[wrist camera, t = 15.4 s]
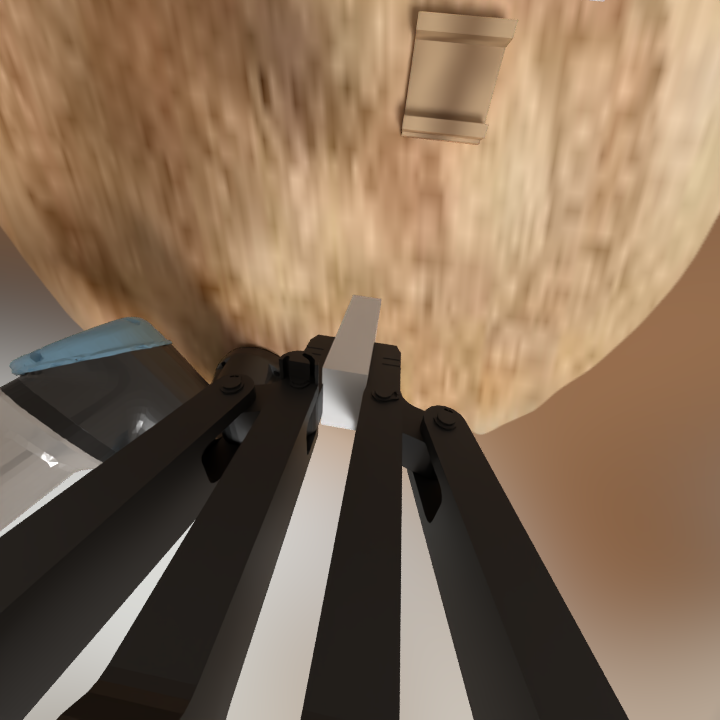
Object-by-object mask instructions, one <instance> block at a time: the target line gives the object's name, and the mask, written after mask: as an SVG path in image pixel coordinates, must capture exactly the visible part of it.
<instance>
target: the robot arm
mask: <svg viewBox="0 0 720 720" xmlns="http://www.w3.org/2000/svg"><path fill="white" fill-rule="evenodd" d="M380 306H381V299H378V298H371V297H365V296H358V295H353V297H352V299H351V301H350V304H349V306H348V308H347V311H346V313H345V316H344V318H343V320H342V323H341V325H340V327H339V330H338V332H337V335H336V337H330V336H324V335H317V336H315V337H314V338H312V339H311V340H310V342H309V343H308V345H307V348H306V349H305V350H304V351H292V352H288V353H286V354H284V355H282V356H281V357H280V358H279V357H278V356H276V355H275V354H273V353H271V352H269V351H266V350H263V349H259V348H254V347H243V348H238V349H235V350H233V351H231V352H230V353H228V354H227V355H226V356H225V357H224V358H223V359H222V360H221V362H220V363H219V364H218V366H217V369H216V371H215V374H214V377H213V380H212V382H211V384H210V385H209V384H208V383H207V382H206V381H205V380H204V379H203V378H202V376H201V375H200V374H199V373H198V372H197V371H196V370H195V369H194V368H193V367H192V366H191V365H190V364H189V363H188V361H187V360H186V359H185V358H184V357H183V356H182V355H181V354H180V353H179V352H178V351H177V350H176V349H175V348H174V346H173V345H172V342H171V341H170V340H167V339H166V338H165V337H164V336H163V335H162V334H161V333H160V332H159V331H157V330H156V329H155V328H154V327H153V326H152V325H151V324H150V323H149V322H148V321H146V320H144V319H142V318H138V317H125V318H121V319H118V320H114V321H111V322H108V323H105V324H102V325H99V326H96V327H94V328H91V329H88V330H85V331H83V332H80V333H77V334H75V335H72V336H69V337H67V338H64V339H62V340H59V341H57V342H54V343H52V344H49V345H47V346H44V347H43V348H41V349H38V350H36V351H33V352H31V353H29V354H26V355H23V356H21V357H19V358H17V359H15V360H13V361H12V362H11V363H10V368H11V369H12V373H13V374H14V375H16V376H17V375H20V377H18V378H17V379H15V380H13V381H11V382H9V383H8V384H6V385H4V386H2V387H0V531H1V530H2V529H4V528H5V527H6V526H7V525H9V524H10V523H11V522H12V521H13V520H15V519H16V518H17V517H19V516H20V515H21V514H23V513H24V512H25V511H27V510H28V509H29V508H30V507H31V506H33V505H34V504H35V503H37V502H38V501H39V500H40V499H42V498H43V497H44V496H46V495H47V494H48V493H49V492H51V491H52V490H53V489H54V488H56V487H57V486H58V485H60V484H61V483H62V482H63V481H65V480H66V479H67V478H68V477H70V476H71V475H72V474H73V473H75V472H78V471H81V470H88V469H93V470H92V471H91V472H89V473H88V474H86V475H85V476H84V477H82V478H81V479H80V480H78V481H77V482H75V483H74V484H73V485H71V486H70V487H69V488H67V489H66V490H64V491H63V492H62V493H60V494H59V495H58V496H56V497H55V498H54V499H52V500H51V501H50V502H48V503H47V504H45V505H44V506H43V507H41V508H40V509H38V510H37V511H36V512H34V513H33V514H32V515H30V516H29V517H27V518H26V519H25V520H23V521H22V522H21V523H19V524H18V525H16V526H15V527H14V528H12V529H11V530H10V531H8V532H7V533H6V534H4V535H3V536H1V537H0V720H23V719H24V717H25V716H26V715H27V714H28V713H29V712H30V711H31V709H32V708H33V707H34V706H35V705H36V704H37V702H38V701H39V700H40V699H41V698H42V696H43V695H44V694H45V693H46V692H47V691H48V690H49V689H50V687H51V686H52V685H53V684H54V683H55V682H56V680H57V679H58V678H59V677H60V676H61V675H62V673H63V672H64V671H65V670H66V669H67V668H68V666H69V665H70V664H71V663H72V662H73V660H75V658H76V657H77V656H78V655H79V654H80V653H81V651H82V650H83V649H84V648H85V647H86V646H87V645H88V643H89V642H90V641H91V640H92V639H93V638H94V636H95V635H96V634H97V633H98V632H99V631H100V629H101V628H102V627H103V626H104V625H105V624H106V622H107V621H108V620H109V619H110V618H111V617H112V616H113V614H114V613H115V612H116V611H117V610H118V609H119V607H120V606H121V605H122V604H123V603H124V602H125V600H126V599H127V598H128V597H129V596H130V595H131V594H132V592H133V591H134V590H135V589H136V588H137V586H138V585H139V584H140V583H141V582H142V581H143V580H144V579H145V577H146V576H147V575H148V574H149V572H151V570H152V569H153V568H154V567H155V566H156V565H157V563H158V562H159V561H160V560H161V559H162V557H164V555H165V554H166V553H167V552H168V551H169V550H170V548H171V547H172V546H173V545H174V544H175V543H176V541H177V540H178V539H179V538H180V537H181V536H182V535H183V533H184V532H185V531H186V530H187V529H188V528H189V526H190V525H191V524H192V523H193V522H194V523H193V525H192V527H191V528H190V530H189V531H188V533H187V535H186V536H185V538H184V540H183V541H182V543H181V545H180V547H179V548H178V550H177V551H176V553H175V555H174V556H173V558H172V560H171V561H170V563H169V565H168V566H167V568H166V570H165V572H164V573H163V575H162V577H161V578H160V580H159V581H158V583H157V585H156V586H155V588H154V590H153V591H152V593H151V595H150V596H149V598H148V600H147V601H146V603H145V605H144V606H143V608H142V610H141V611H140V613H139V615H138V616H137V618H136V620H135V621H134V623H133V625H132V626H131V628H130V630H129V631H128V633H127V635H126V636H125V638H124V640H123V641H122V643H121V645H120V646H119V648H118V650H117V651H116V653H115V655H114V656H113V658H112V660H111V661H110V663H109V665H108V666H107V668H106V669H105V671H104V672H103V674H102V675H101V676H100V678H99V679H98V681H97V682H96V683H95V684H94V685H93V687H92V688H91V689H90V690H89V691H88V692H87V693H86V694H85V695H84V696H82V697H81V698H80V699H79V700H78V701H76V702H75V703H74V704H73V705H72V706H71V707H69V708H68V709H67V710H66V711H65V712H64V713H62V714H61V715H60V716H59V717H58V719H57V720H226V717H227V713H228V710H229V707H230V703H231V700H232V697H233V694H234V691H235V688H236V685H237V682H238V679H239V676H240V673H241V670H242V666H243V663H244V660H245V657H246V654H247V651H248V648H249V645H250V642H251V639H252V636H253V633H254V630H255V627H256V624H257V621H258V617H259V614H260V611H261V608H262V605H263V602H264V599H265V596H266V593H267V590H268V587H269V584H270V581H271V578H272V575H273V572H274V569H275V565H276V562H277V559H278V556H279V553H280V550H281V547H282V544H283V541H284V538H285V535H286V532H287V529H288V526H289V523H290V519H291V516H292V513H293V510H294V507H295V504H296V501H297V498H298V495H299V492H300V488H301V486H302V482H303V480H304V477H305V474H306V470H307V467H308V464H309V461H310V458H311V455H312V452H313V449H314V446H315V443H316V440H317V437H318V425H319V422H320V419H321V424H322V425H328V426H333V427H339V428H345V429H351V430H356V433H355V438H354V444H353V449H352V454H351V459H350V464H349V470H348V475H347V480H346V485H345V491H344V496H343V501H342V506H341V511H340V517H339V522H338V528H337V532H336V538H335V543H334V548H333V553H332V558H331V564H330V569H329V574H328V579H327V585H326V590H325V595H324V600H323V605H322V611H321V616H320V621H319V626H318V632H317V637H316V642H315V647H314V653H313V658H312V663H311V668H310V674H309V679H308V684H307V689H306V694H305V699H304V705H303V710H302V715H301V720H399V713H400V712H399V710H400V613H401V516H402V510H401V509H402V466H403V467H405V468H407V472H408V475H409V479H410V483H411V487H412V490H413V494H414V498H415V502H416V505H417V509H418V513H419V517H420V520H421V524H422V528H423V532H424V535H425V539H426V543H427V547H428V550H429V554H430V558H431V561H432V565H433V569H434V573H435V576H436V580H437V584H438V588H439V591H440V595H441V599H442V602H443V606H444V610H445V614H446V618H447V621H448V625H449V629H450V633H451V636H452V640H453V643H454V647H455V651H456V654H457V659H458V662H459V666H460V670H461V673H462V677H463V681H464V684H465V689H466V692H467V696H468V700H469V704H470V707H471V711H472V715H473V719H474V720H629V719H628V717H627V715H626V713H625V711H624V710H623V708H622V706H621V704H620V702H619V700H618V699H617V697H616V695H615V693H614V691H613V690H612V688H611V686H610V684H609V682H608V680H607V678H606V677H605V675H604V673H603V671H602V669H601V668H600V666H599V664H598V662H597V660H596V659H595V657H594V655H593V653H592V651H591V649H590V647H589V646H588V644H587V642H586V640H585V638H584V636H583V635H582V633H581V631H580V629H579V627H578V626H577V624H576V622H575V620H574V618H573V616H572V615H571V613H570V611H569V609H568V607H567V605H566V604H565V602H564V600H563V598H562V596H561V594H560V593H559V591H558V589H557V587H556V586H555V583H554V582H553V580H552V578H551V576H550V574H549V573H548V571H547V569H546V567H545V565H544V563H543V562H542V560H541V558H540V556H539V554H538V552H537V551H536V549H535V547H534V545H533V543H532V541H531V540H530V538H529V536H528V534H527V532H526V530H525V529H524V527H523V525H522V523H521V522H520V520H519V518H518V516H517V514H516V512H515V510H514V509H513V507H512V505H511V503H510V501H509V499H508V498H507V496H506V494H505V492H504V491H503V489H502V487H501V485H500V483H499V481H498V479H497V477H496V476H495V474H494V472H493V470H492V469H491V467H490V465H489V463H488V461H487V459H486V457H485V456H484V454H483V452H482V450H481V448H480V447H479V445H478V443H477V441H476V439H475V437H474V436H473V434H472V432H471V430H470V428H469V426H468V425H467V423H466V421H465V419H464V418H463V417H462V416H461V414H459V413H458V412H456V411H455V410H453V409H451V408H448V407H446V406H439V405H437V406H431V407H430V408H428V409H427V410H426V411H424V410H421V409H419V408H416V407H414V406H413V405H411V404H409V403H408V402H407V401H406V400H405V399H404V398H403V397H402V394H401V392H400V370H401V368H400V366H401V362H400V361H401V352H400V351H399V349H398V348H397V346H394V345H388V344H381V343H375V339H376V332H377V325H378V319H379V312H380ZM195 519H196V520H195Z"/></svg>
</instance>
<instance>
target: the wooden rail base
mask: <svg viewBox="0 0 720 720" xmlns="http://www.w3.org/2000/svg"><path fill="white" fill-rule="evenodd" d="M517 23H518V20H516V19H505V18H493V17H482V16H470V15H458V14H447V13H435V12H424V11H419V13H418V20H417V27H416V37H415V45H414V52H413V59H412V66H411V73H410V80H409V87H408V94H407V101H406V108H405V115H404V118H403V125H402V136H403V137H412V138H421V139H430V140H439V141H448V142H457V143H466V144H475V145H478V144H479V143H480V140H482V139H484V138H485V136H486V133H487V129H488V126H489V124H485V121H486V117H487V114H488V110H489V106H490V103H491V99H492V95H493V92H494V88H495V85H496V81H497V77H498V74H499V70H500V66H501V63H502V59H503V55H504V52H505V48H506V46H507V45H508V44H509V43H510V41H511V40H512V39H513V37H514V33H515V30H516V26H517Z"/></svg>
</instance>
